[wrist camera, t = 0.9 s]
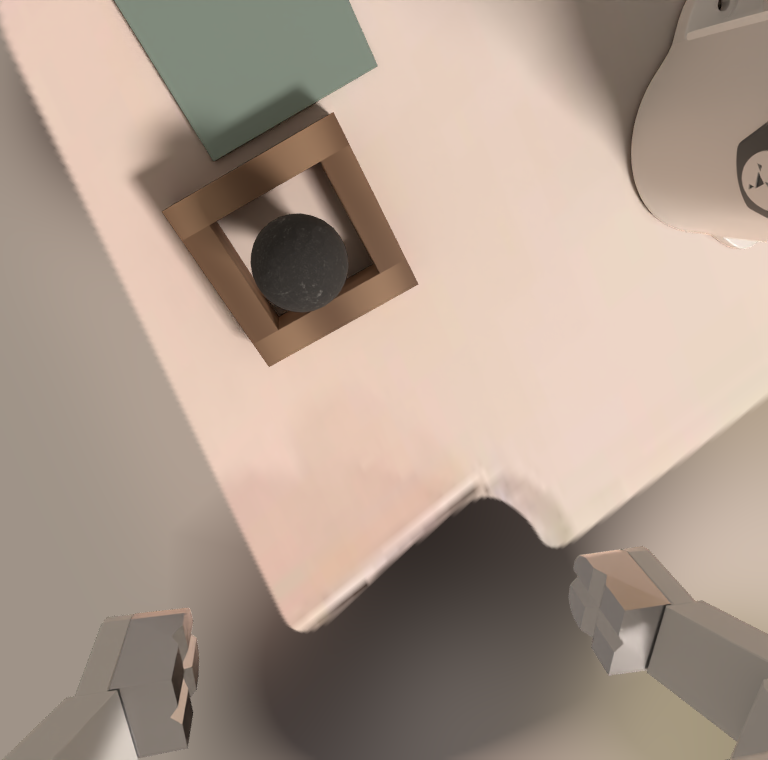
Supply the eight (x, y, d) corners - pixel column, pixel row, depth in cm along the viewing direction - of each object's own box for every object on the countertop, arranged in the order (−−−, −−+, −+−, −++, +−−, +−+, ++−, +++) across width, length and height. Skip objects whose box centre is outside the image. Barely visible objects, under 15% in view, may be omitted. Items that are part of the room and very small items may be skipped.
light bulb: (353, 239, 38) (374, 270, 29) (302, 297, 39) (307, 344, 30) (291, 182, 36) (294, 197, 27) (239, 245, 37) (225, 280, 28)
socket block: (329, 114, 35) (333, 112, 32) (409, 274, 40) (418, 284, 37) (170, 205, 35) (161, 211, 33) (270, 351, 41) (269, 366, 38)
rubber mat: (294, -121, 30) (294, -124, 29) (376, 66, 34) (377, 65, 34) (110, -8, 30) (107, -10, 30) (214, 161, 35) (213, 161, 34)
